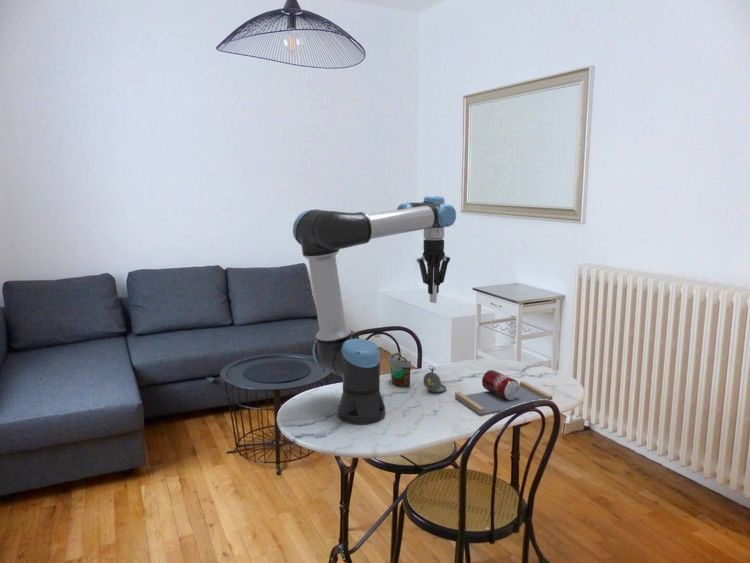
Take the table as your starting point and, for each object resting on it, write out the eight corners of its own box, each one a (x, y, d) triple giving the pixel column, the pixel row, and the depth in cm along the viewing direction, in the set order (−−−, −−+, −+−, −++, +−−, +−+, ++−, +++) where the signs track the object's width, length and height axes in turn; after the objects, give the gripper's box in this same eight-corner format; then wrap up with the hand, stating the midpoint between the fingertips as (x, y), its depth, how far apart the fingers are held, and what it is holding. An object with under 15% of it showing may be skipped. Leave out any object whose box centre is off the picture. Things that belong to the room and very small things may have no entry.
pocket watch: (445, 386, 204) (445, 360, 202) (447, 395, 196) (448, 367, 194) (422, 386, 204) (422, 360, 203) (423, 395, 196) (424, 367, 194)
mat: (480, 415, 179) (480, 409, 178) (455, 398, 193) (455, 392, 192) (552, 402, 189) (552, 396, 189) (523, 386, 203) (523, 381, 203)
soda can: (499, 384, 201) (522, 395, 191) (483, 392, 199) (506, 404, 188) (495, 366, 199) (518, 376, 189) (479, 374, 196) (501, 385, 186)
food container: (384, 379, 212) (383, 353, 211) (399, 377, 214) (399, 351, 212) (395, 390, 201) (394, 363, 199) (411, 388, 203) (411, 361, 201)
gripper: (422, 240, 201) (422, 305, 205) (454, 239, 206) (453, 302, 210) (413, 238, 208) (412, 301, 212) (444, 237, 213) (443, 298, 217)
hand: (433, 302), depth 211 cm, fingers closed
